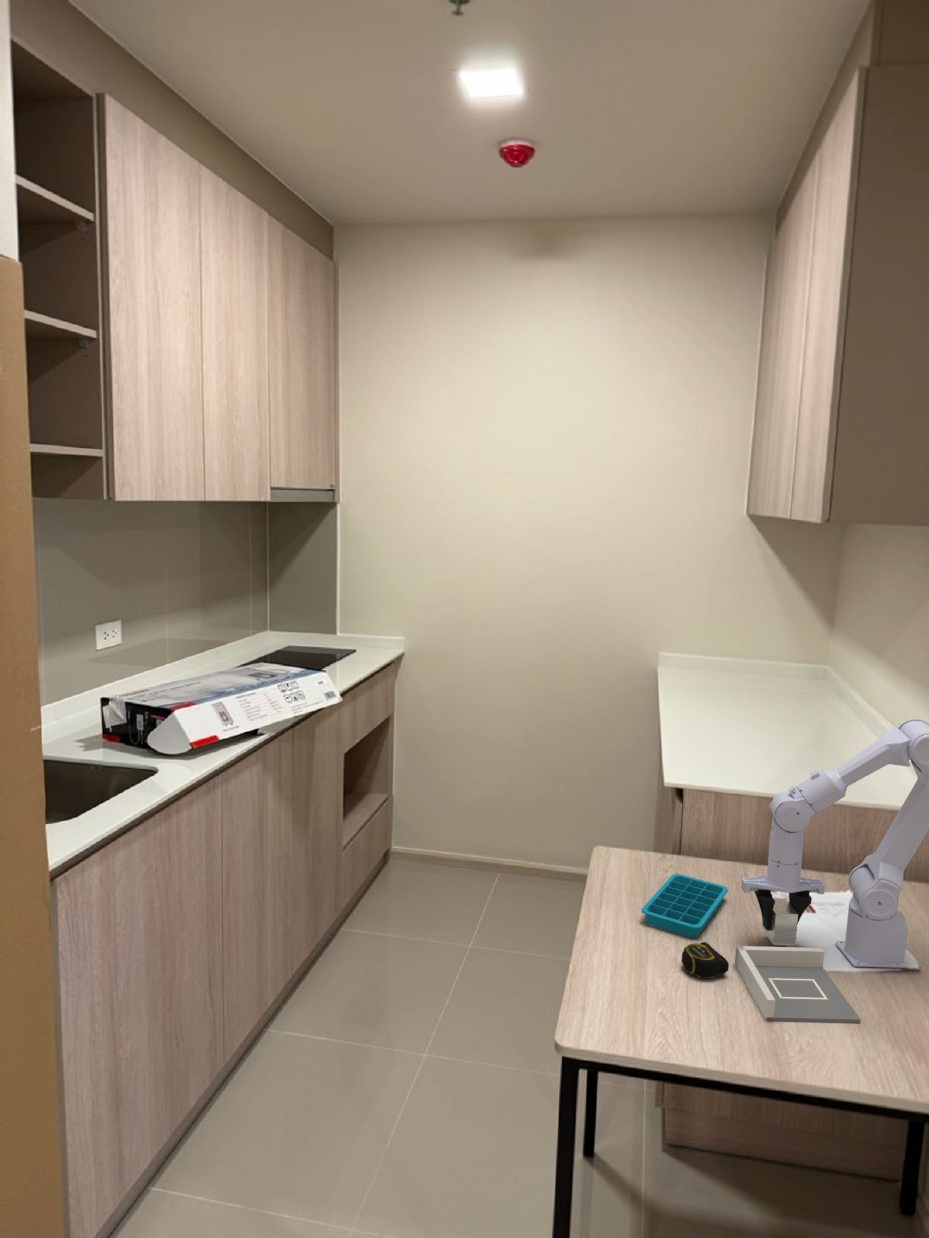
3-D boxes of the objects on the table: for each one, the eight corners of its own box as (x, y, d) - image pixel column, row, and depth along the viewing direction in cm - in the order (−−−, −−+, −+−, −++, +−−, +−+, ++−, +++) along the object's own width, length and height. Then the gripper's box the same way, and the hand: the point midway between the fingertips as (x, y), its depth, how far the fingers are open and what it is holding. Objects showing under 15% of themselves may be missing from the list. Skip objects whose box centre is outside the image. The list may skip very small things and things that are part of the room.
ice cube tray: (638, 925, 167) (639, 911, 166) (673, 885, 184) (674, 872, 183) (698, 943, 161) (699, 928, 160) (728, 901, 178) (729, 887, 177)
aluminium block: (783, 928, 163) (785, 898, 162) (795, 945, 157) (798, 914, 156) (762, 927, 163) (764, 897, 162) (773, 944, 157) (775, 913, 156)
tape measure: (729, 978, 149) (731, 958, 149) (695, 984, 147) (696, 964, 147) (707, 957, 156) (708, 938, 155) (673, 963, 154) (675, 943, 153)
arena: (819, 966, 154) (821, 947, 153) (860, 1022, 138) (862, 1001, 137) (734, 964, 153) (736, 945, 153) (765, 1020, 138) (767, 999, 137)
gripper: (816, 849, 162) (809, 917, 164) (738, 848, 162) (733, 916, 164) (832, 866, 155) (825, 937, 157) (750, 864, 155) (745, 935, 157)
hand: (779, 927), depth 160 cm, fingers closed on aluminium block, 4 cm apart
